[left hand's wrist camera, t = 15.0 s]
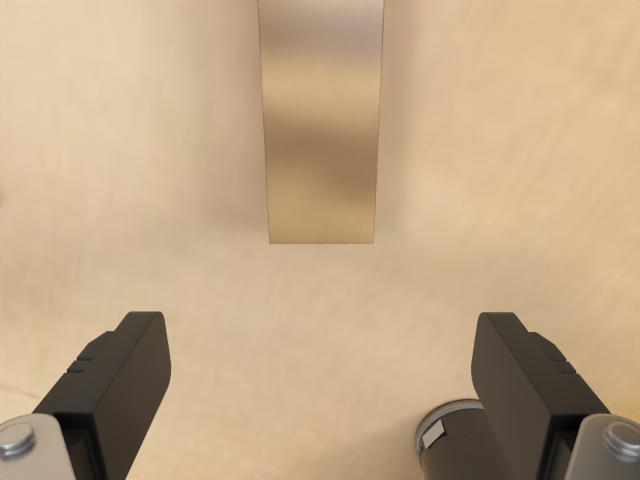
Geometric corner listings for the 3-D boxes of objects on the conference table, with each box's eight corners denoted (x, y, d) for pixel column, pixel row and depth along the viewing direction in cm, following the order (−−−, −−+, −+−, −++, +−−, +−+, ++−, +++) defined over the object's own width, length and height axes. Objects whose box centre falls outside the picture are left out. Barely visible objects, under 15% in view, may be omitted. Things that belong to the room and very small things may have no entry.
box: (360, 197, 35) (373, 243, 26) (281, 197, 35) (269, 244, 26) (369, -120, 28) (393, -203, 19) (270, -120, 28) (247, -202, 19)
